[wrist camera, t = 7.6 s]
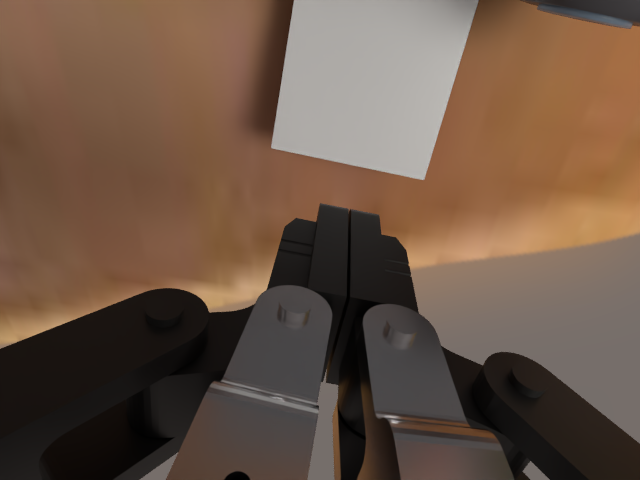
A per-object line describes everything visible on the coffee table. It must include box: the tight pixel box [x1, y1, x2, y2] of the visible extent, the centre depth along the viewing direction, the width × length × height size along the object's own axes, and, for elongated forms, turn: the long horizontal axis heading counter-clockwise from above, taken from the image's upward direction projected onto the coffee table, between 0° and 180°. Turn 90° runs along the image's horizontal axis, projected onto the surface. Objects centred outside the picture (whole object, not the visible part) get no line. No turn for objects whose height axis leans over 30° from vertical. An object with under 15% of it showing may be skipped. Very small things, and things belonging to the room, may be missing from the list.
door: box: [271, 0, 479, 180], centre depth 18 cm, size 1×7×8 cm
